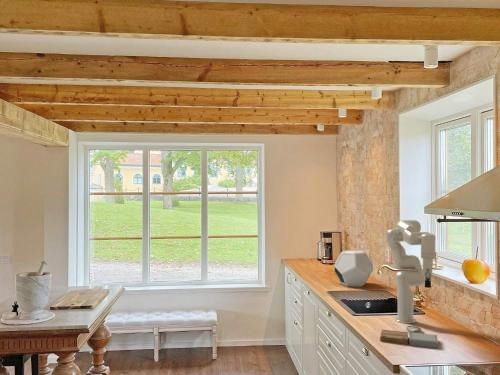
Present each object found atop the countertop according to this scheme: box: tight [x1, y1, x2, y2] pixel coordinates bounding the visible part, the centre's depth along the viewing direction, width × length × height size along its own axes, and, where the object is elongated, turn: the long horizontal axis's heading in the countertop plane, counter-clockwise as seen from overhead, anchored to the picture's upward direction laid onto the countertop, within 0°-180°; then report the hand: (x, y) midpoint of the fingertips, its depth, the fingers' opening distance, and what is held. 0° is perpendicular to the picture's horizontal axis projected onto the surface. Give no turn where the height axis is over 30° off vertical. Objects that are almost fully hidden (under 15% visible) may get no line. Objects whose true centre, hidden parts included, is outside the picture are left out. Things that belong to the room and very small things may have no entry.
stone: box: [405, 325, 426, 334], centre depth 261 cm, size 12×9×3 cm
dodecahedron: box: [333, 249, 374, 288], centre depth 403 cm, size 34×36×30 cm
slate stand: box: [408, 331, 439, 349], centre depth 244 cm, size 14×14×3 cm
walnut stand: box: [379, 329, 409, 346], centre depth 249 cm, size 14×14×3 cm
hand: (427, 285), depth 258 cm, fingers open, 9 cm apart
